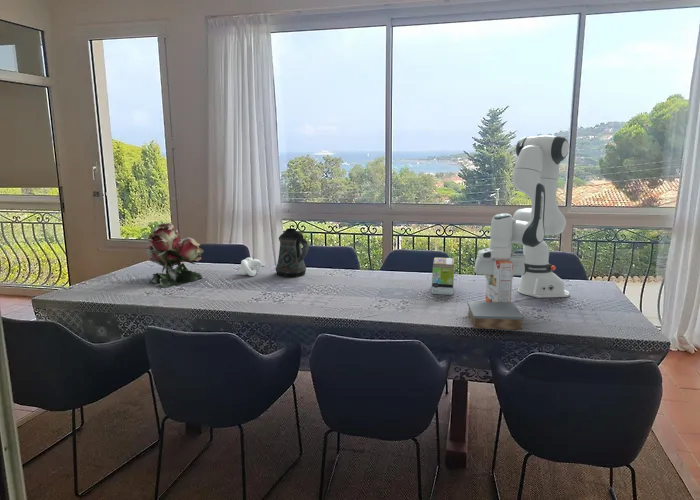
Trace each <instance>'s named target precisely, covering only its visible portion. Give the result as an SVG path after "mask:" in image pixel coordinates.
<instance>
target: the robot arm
mask: <svg viewBox="0 0 700 500" xmlns="http://www.w3.org/2000/svg"><path fill="white" fill-rule="evenodd" d="M569 148H570V145H569V141H568V140H567V138H566V137H564V136H559V135H557V136H556V135H535V136H529V135H528V136H523V137H521V138H520V139H519V140H518V141H517V142H516V145H515V154H516V156H517V159H516V161H515V165H514V170H513V173H512V184H513V186H514V188H515V189H516V190H517V191H519V192H521V193H523V194H524V195H526V196H528V197H529V199H530V200H531V207H525V208H519V209H517V210H516V211H515V212H514V213H513V215H511V213H508V212H507V213H506V212H504V213H496V214H494V215H493V217H492V218H491V223H490V232H489V236H490V242H489V247H486V248H482V249H479V250H477V251H478V252H477V254H478V256H477V257H476V259H475V263H474V269H473V270H474V273H475V274H476V275H481V276H482V275H484V277H485V279H486V284H488V285H491V283H492V281H491V280H489V279H488V277H489V275H493V273H494V262H495V260H509V261H510V262H512V263H513V272H512V280H513V278H514V276H521V277H520V282H519V284H518V288H517V292H518V293H520V294H522V295H524V296H530V297H534V298H537V299H538V298H541V299H542V298H567V297H570V292H569V291H568V290H567V289H565V283H564V281H563V279H562V278H561V277H559V276H558V275H557V274H556V273H554V272H553V271H556V269H557V267H556V265H552V264H551V263H550V262H549V259H550V258H549V257H550V247H549V244H547V242H546V241H545V240H544V239H545V235H546V236H555V235H556V236H557V235H560V234H562V233H563V231H564V230H565V228H566V226H567V219H566V216H565V215H564V214H563V213H562V212H561V210H560V208H559V206H558V202H557V201H558V200H557V191H558V183H559V176H560V163H561V162H562V161H564V160H565V159H566V157H567V156H568V154H569V151H570V150H569ZM512 244H516V245H517V244H518V245H522V247H523V249H522V252H512V250H513V249H512V248H513V245H512Z"/></svg>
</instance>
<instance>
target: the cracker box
mask: <svg viewBox="0 0 700 500" xmlns="http://www.w3.org/2000/svg"><path fill="white" fill-rule="evenodd" d="M512 272H513V263H512V262H510V261H509V260H495V262H494V273H493V275H489V277H488V279H489V280H491V281H492V283H491V285H488V284H487V283H486V286H485V287H486V289H485V291H486V292H485V302H507V303H512V289H513V288H512V287H513V286H512V285H513V279H512Z"/></svg>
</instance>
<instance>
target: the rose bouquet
mask: <svg viewBox="0 0 700 500" xmlns="http://www.w3.org/2000/svg"><path fill="white" fill-rule="evenodd" d="M152 232H153V234H149V235H148V237H147V242H148V243H150V245H149V246H148V248H147V247H146V253H147V255H148V259H147V261H148V262H150V263H151V262H153V263H155V264H157V265H159V266H161V267H162V269H161V271H162V272H161V273H159V272H156V273H152V278H151V279H149V281H148V282H147V283H148V284H151V283H155V286H158V287H160V288H162V289H166V288H172V287H174V286H175V287H178V286H181V285H183V284H186V283H188V282H189V283H190V282H194V281H198V280H199V279H203V277H202V276H203V275H202V274H201V273H200V272H197V271H192V270H189V269H188V268H187V266H186V265H185V264H184V262H187V263H189V264H192V265H197V266H199V265H200V264H198V263H195V262H199V261H200V260H202V257H201V256H202V254H203V253H204V249H202V247H199V246H201V244H200V243H198V242H197V240H195V239H196V238H195V239H194V238H191V237H189V236H188V237H185V238H181V239H180V237H181V236H180V235H181V233H179V232H178V230H177V229H176V228H175V226H174V225H173V224H172V223H171V222H164V223H163V222H160V224H157V225H156V226H155V230H154V229H152ZM174 266H176V267H174ZM164 271H165V273H163V272H164Z"/></svg>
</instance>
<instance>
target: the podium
mask: <svg viewBox="0 0 700 500" xmlns="http://www.w3.org/2000/svg"><path fill="white" fill-rule="evenodd" d="M467 306H468V313H467V314H468V316H469V319H470V321H471V323H472V325H473V328H474V329H486V330H487V329H488V330H491V329H492V330H493V329H494V330H522V324H523V323H522V322H523V321H524V319H525V317H524V315H523V314H522V313H521V312H520V310H519V309H518V307H517V306H516V305H515V303H514V302H511V303H507V302H486V301H467Z"/></svg>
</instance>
